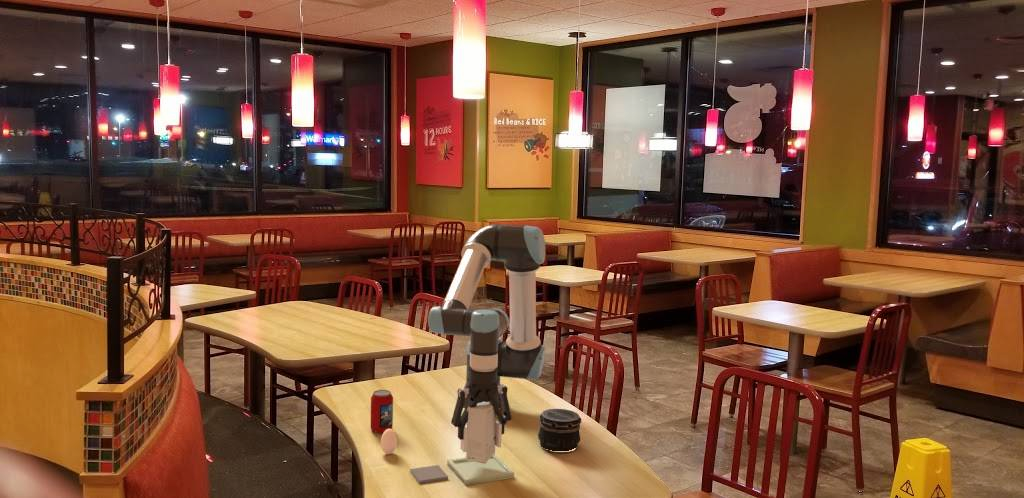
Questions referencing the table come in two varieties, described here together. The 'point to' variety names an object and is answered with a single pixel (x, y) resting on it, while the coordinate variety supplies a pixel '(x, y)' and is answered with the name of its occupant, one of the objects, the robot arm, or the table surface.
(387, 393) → the beverage can
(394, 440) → the egg
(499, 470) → the tray
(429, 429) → the table surface
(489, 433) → the skincare box
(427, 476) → the pad
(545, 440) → the container
